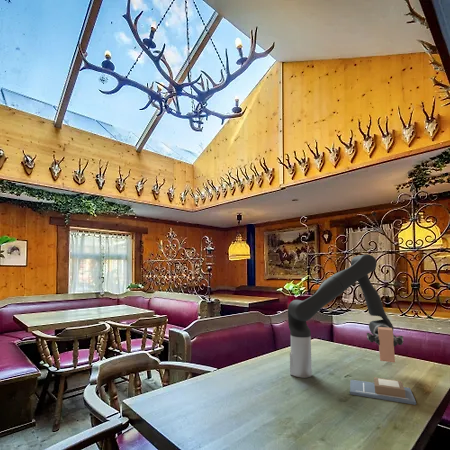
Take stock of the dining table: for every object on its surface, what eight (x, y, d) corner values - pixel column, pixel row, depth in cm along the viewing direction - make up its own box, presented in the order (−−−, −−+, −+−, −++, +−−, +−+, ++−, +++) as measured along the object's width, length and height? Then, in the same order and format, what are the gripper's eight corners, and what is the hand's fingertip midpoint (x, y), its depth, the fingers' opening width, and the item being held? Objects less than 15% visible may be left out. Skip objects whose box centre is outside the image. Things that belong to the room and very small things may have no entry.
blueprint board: (349, 394, 118) (349, 383, 118) (350, 381, 131) (350, 372, 131) (416, 404, 109) (415, 392, 110) (410, 390, 122) (409, 380, 122)
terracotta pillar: (380, 360, 119) (378, 329, 121) (379, 357, 124) (377, 326, 125) (394, 362, 117) (392, 330, 119) (393, 358, 122) (391, 327, 123)
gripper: (365, 324, 138) (365, 331, 122) (401, 326, 132) (407, 334, 117) (366, 341, 137) (366, 350, 121) (402, 344, 131) (408, 355, 116)
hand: (386, 342), depth 119 cm, fingers closed on terracotta pillar, 5 cm apart
